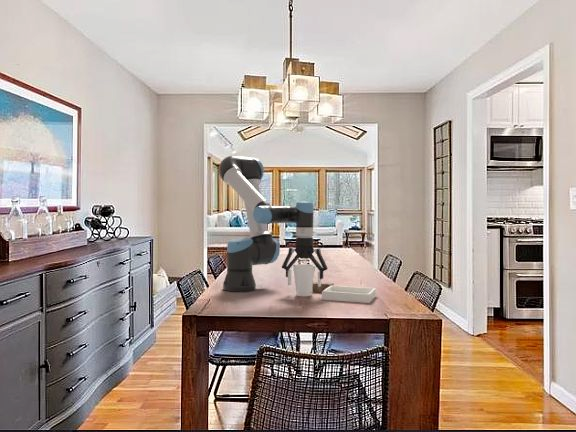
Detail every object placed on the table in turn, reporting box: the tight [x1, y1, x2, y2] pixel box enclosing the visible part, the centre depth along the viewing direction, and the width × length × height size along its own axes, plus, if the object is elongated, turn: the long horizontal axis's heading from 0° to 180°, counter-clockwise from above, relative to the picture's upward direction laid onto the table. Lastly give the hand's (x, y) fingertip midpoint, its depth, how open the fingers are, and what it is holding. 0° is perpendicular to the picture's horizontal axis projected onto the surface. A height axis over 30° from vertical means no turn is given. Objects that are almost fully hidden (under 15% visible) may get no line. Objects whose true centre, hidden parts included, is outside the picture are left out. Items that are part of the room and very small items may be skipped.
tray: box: [321, 284, 377, 304], centre depth 221 cm, size 20×16×4 cm
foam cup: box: [292, 263, 316, 297], centre depth 226 cm, size 10×9×13 cm
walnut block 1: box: [312, 281, 323, 293], centre depth 236 cm, size 4×4×4 cm
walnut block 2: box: [322, 282, 335, 291], centre depth 234 cm, size 4×4×4 cm
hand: (304, 285), depth 226 cm, fingers open, 13 cm apart
